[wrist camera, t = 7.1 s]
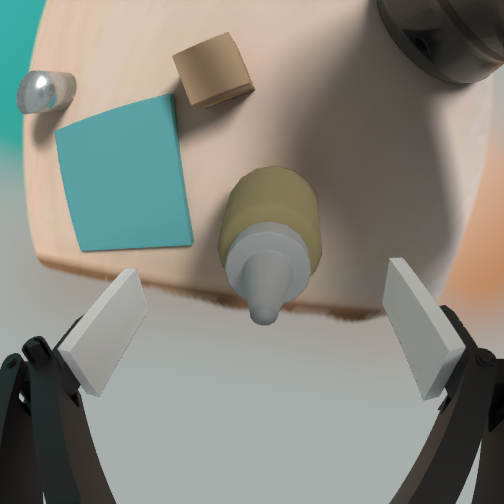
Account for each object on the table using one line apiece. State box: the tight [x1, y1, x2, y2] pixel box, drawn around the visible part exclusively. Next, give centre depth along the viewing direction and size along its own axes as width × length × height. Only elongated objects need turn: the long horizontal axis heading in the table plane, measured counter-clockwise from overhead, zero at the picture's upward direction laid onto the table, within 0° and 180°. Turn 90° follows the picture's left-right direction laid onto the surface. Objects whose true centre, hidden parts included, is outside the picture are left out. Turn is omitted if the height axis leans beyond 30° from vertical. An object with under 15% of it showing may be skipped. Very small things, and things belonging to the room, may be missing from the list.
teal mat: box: [55, 94, 194, 251], centre depth 28 cm, size 16×16×1 cm
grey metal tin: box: [17, 71, 76, 114], centre depth 21 cm, size 5×5×6 cm
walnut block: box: [172, 32, 255, 108], centre depth 21 cm, size 5×5×5 cm
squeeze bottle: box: [218, 166, 322, 325], centre depth 20 cm, size 8×8×18 cm
